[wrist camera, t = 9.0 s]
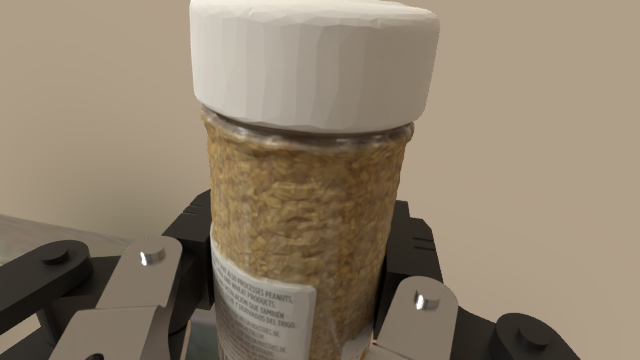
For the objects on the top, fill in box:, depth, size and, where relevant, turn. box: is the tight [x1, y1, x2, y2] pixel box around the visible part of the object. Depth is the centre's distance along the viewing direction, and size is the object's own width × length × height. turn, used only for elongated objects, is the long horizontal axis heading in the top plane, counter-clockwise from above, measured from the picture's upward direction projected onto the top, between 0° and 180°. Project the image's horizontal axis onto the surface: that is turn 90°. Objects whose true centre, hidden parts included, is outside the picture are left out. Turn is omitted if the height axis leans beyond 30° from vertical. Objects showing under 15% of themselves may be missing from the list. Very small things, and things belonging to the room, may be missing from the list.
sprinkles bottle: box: [189, 0, 440, 360], centre depth 10 cm, size 5×5×14 cm
